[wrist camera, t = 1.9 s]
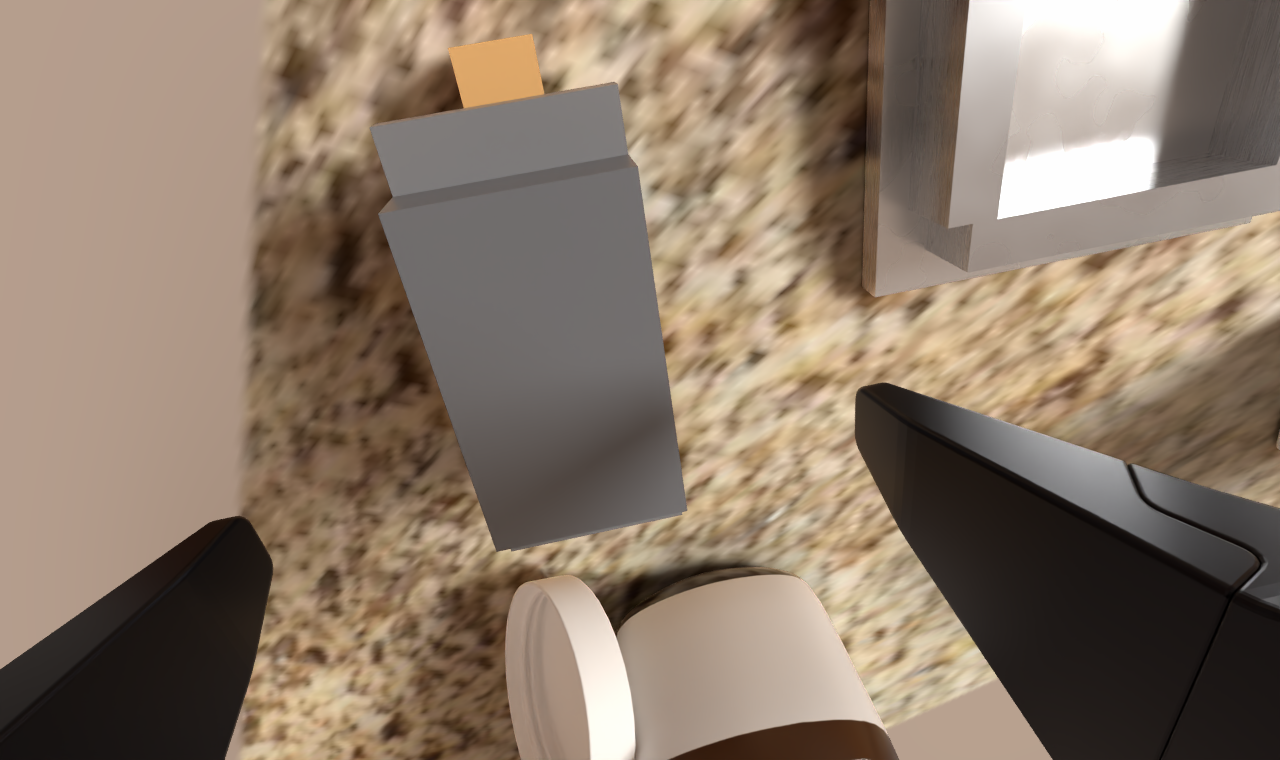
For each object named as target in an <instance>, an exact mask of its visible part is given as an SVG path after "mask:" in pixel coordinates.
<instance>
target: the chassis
mask: <svg viewBox="0 0 1280 760" xmlns="http://www.w3.org/2000/svg"><path fill="white" fill-rule="evenodd" d="M1277 211H1280V0H870V9H869V47H868V84H867V122H866V159H865V197H864V234H863V272H862V287H863V288H864V289H865V290H867V291H868V292H869V293H870V294H872V295H873V296H874V297H879V296H884V295H889V294H894V293H899V292H904V291H909V290H914V289H919V288H924V287H929V286H934V285H939V284H945V283H950V282H955V281H960V280H965V279H970V278H975V277H980V276H985V275H990V274H995V273H1000V272H1005V271H1010V270H1015V269H1020V268H1025V267H1030V266H1035V265H1040V264H1045V263H1050V262H1055V261H1060V260H1065V259H1070V258H1076V257H1081V256H1086V255H1091V254H1096V253H1101V252H1106V251H1111V250H1116V249H1121V248H1126V247H1131V246H1136V245H1141V244H1146V243H1151V242H1156V241H1161V240H1166V239H1171V238H1176V237H1181V236H1186V235H1191V234H1196V233H1201V232H1207V231H1212V230H1217V229H1222V228H1227V227H1232V226H1237V225H1242V224H1247V223H1250V222H1251V219H1252V216H1256V215H1261V214H1267V213H1272V212H1277Z"/></svg>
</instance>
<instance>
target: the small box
mask: <svg viewBox="0 0 1280 760" xmlns="http://www.w3.org/2000/svg"><path fill="white" fill-rule="evenodd" d="M1277 449H1279V450H1280V431H1279V436H1278V440H1277Z"/></svg>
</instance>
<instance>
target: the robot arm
mask: <svg viewBox="0 0 1280 760" xmlns="http://www.w3.org/2000/svg"><path fill="white" fill-rule="evenodd" d="M855 439H856V443H857V446H858V449H859V451H860V453H861V455H862V457H863V459H864V461H865V463H866V465H867V467H868V469H869V471H870V473H871V475H872V477H873V479H874V481H875V483H876V484H877V486H878V488H879V490H880V492H881V494H882V496H883V498H884V500H885V502H886V504H887V506H888V508H889V510H890V512H891V514H892V516H893V518H894V520H895V521H896V523H897V525H898V527H899V529H900V531H901V532H902V534H903V535H904V537H905V539H906V540H907V542H908V543H909V545H910V546H911V548H912V549H913V551H914V552H915V554H916V555H917V557H918V558H919V560H920V561H921V563H922V564H923V566H924V567H925V569H926V570H927V572H928V573H929V575H930V576H931V578H932V579H933V581H934V582H935V584H936V585H937V587H938V588H939V590H940V591H941V593H942V594H943V596H944V597H945V599H946V600H947V602H948V603H949V605H950V606H951V608H952V609H953V611H954V612H955V614H956V615H957V617H958V618H959V620H960V621H961V623H962V624H963V626H964V627H965V629H966V630H967V632H968V633H969V635H970V636H971V638H972V639H973V641H974V642H975V644H976V645H977V647H978V648H979V650H980V651H981V653H982V654H983V656H984V657H985V659H986V660H987V662H988V663H989V665H990V666H991V668H992V669H993V671H994V672H995V674H996V675H997V677H998V678H999V680H1000V681H1001V683H1002V684H1003V686H1004V687H1005V688H1006V690H1007V692H1008V693H1009V695H1010V696H1011V698H1012V699H1013V701H1014V702H1015V704H1016V705H1017V707H1018V708H1019V710H1020V711H1021V713H1022V714H1023V716H1024V717H1025V718H1026V720H1027V722H1028V723H1029V724H1030V726H1031V728H1032V729H1033V731H1034V732H1035V734H1036V735H1037V737H1038V738H1039V740H1040V741H1041V743H1042V744H1043V746H1044V747H1045V749H1046V750H1047V752H1048V753H1049V755H1050V756H1051V758H1052V759H1053V760H1280V508H1277V507H1273V506H1270V505H1266V504H1263V503H1259V502H1256V501H1252V500H1249V499H1245V498H1242V497H1238V496H1235V495H1231V494H1228V493H1224V492H1221V491H1217V490H1214V489H1210V488H1207V487H1204V486H1201V485H1198V484H1194V483H1191V482H1188V481H1185V480H1182V479H1179V478H1175V477H1172V476H1169V475H1166V474H1163V473H1160V472H1157V471H1154V470H1151V469H1148V468H1145V467H1142V466H1139V465H1136V464H1129V465H1128V466H1127V464H1126V462H1125V461H1123V460H1120V459H1117V458H1114V457H1111V456H1108V455H1105V454H1102V453H1099V452H1096V451H1093V450H1090V449H1087V448H1083V447H1080V446H1077V445H1074V444H1071V443H1068V442H1065V441H1062V440H1059V439H1056V438H1053V437H1050V436H1047V435H1044V434H1041V433H1038V432H1035V431H1032V430H1029V429H1026V428H1023V427H1020V426H1017V425H1014V424H1010V423H1007V422H1004V421H1001V420H998V419H995V418H992V417H989V416H986V415H983V414H980V413H977V412H974V411H971V410H968V409H965V408H962V407H959V406H956V405H953V404H950V403H947V402H944V401H941V400H938V399H934V398H931V397H928V396H925V395H922V394H919V393H916V392H913V391H910V390H907V389H904V388H901V387H898V386H895V385H892V384H889V383H878V384H873V385H868V386H864V387H861V388H859V390H858V391H857V393H856V399H855ZM272 575H273V564H272V560H271V557H270V555H269V553H268V552H267V550H266V548H265V546H264V545H263V543H262V541H261V540H260V538H259V536H258V535H257V533H256V531H255V530H254V528H253V526H252V524H251V523H250V522H249V520H247V519H246V518H244V517H241V516H235V517H231V518H225V519H220V520H216V521H212V522H210V523H208V524H207V525H205V526H204V527H202V528H201V529H199V530H198V531H197V532H195V533H194V534H192V535H191V536H189V537H188V538H187V539H185V540H184V541H182V542H181V543H179V544H178V545H177V546H175V547H174V548H172V549H171V550H170V551H168V552H167V553H165V554H164V555H162V556H161V557H160V558H158V559H157V560H155V561H154V562H153V563H151V564H150V565H148V566H147V567H146V568H144V569H142V570H141V571H140V572H138V573H137V574H135V575H134V576H133V577H131V578H130V579H128V580H127V581H125V582H124V583H123V584H121V585H120V586H118V587H117V588H116V589H114V590H113V591H111V592H110V593H108V594H107V595H106V596H104V597H103V598H101V599H100V600H98V601H97V602H96V603H94V604H93V605H91V606H90V607H88V608H87V609H86V610H84V611H83V612H81V613H80V614H79V615H77V616H76V617H74V618H73V619H72V620H70V621H68V622H67V623H66V624H64V625H63V626H61V627H60V628H59V629H57V630H56V631H54V632H53V633H51V634H50V635H49V636H47V637H46V638H44V639H43V640H42V641H40V642H39V643H37V644H36V645H34V646H33V647H32V648H30V649H29V650H27V651H26V652H24V653H23V654H22V655H20V656H19V657H17V658H16V659H14V660H13V661H12V662H10V663H9V664H7V665H6V666H5V667H3V668H2V669H0V760H225V757H226V754H227V751H228V747H229V744H230V741H231V738H232V735H233V732H234V729H235V726H236V723H237V720H238V717H239V713H240V710H241V707H242V704H243V701H244V698H245V695H246V692H247V688H248V685H249V681H250V678H251V675H252V671H253V666H254V662H255V658H256V654H257V649H258V644H259V639H260V634H261V629H262V624H263V620H264V615H265V610H266V605H267V600H268V595H269V590H270V585H271V580H272Z"/></svg>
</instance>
